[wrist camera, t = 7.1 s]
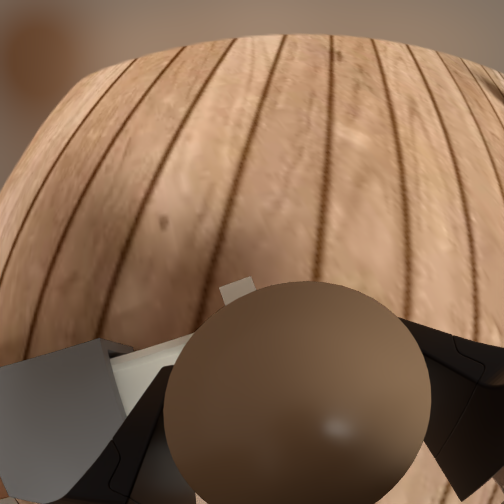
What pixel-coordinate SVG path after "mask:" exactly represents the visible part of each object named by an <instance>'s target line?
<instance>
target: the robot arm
mask: <svg viewBox="0 0 504 504" xmlns="http://www.w3.org/2000/svg"><path fill="white" fill-rule="evenodd" d="M398 318H399V317H398ZM399 319H400V320H401V322H402V323H403V324H404V325H405V326H406V327H407V328H408V330H409V331H410V333H411V334H412V336H413V337H414V339H415V340H416V342H417V344H418V346H419V348H420V350H421V352H422V354H423V357H424V360H425V363H426V366H427V369H428V373H429V379H430V385H431V409H430V418H429V423H428V427H427V431H426V434H425V437H424V440H423V441H424V442H425V444H426V445H427V447H428V448H429V450H430V452H431V453H432V455H433V456H434V458H436V459H435V460H436V461H437V463H438V465H439V466H440V468H441V469H442V471H443V473H444V474H445V476H446V478H447V479H448V481H449V482H450V484H451V486H452V487H453V489H454V491H455V492H456V494H457V496H458V498H459V499H460V500H461V502H462V501H464V500H465V499H466V498H468V497H469V496H470V495H472V494H473V493H474V492H475V491H477V490H478V489H479V488H480V487H481V486H483V485H484V484H485V483H486V482H487V481H489V480H490V479H491V478H493V479H494V480H495V482H496V483H497V485H498V486H499V487H500V489H501V490H502V492H503V493H504V348H502V347H497V346H492V345H487V344H483V343H479V342H475V341H471V340H468V339H464V338H461V337H458V336H455V335H453V336H452V335H451V334H448V333H445V332H442V331H439V330H436V329H433V328H430V327H427V326H424V325H421V324H417V323H414V322H411V321H408V320H405V319H402V318H399ZM173 367H174V365H168V366H164V367H162V368H161V369H160V371H159V372H158V373H157V375H156V376H155V378H154V379H153V381H152V382H151V383H150V385H149V386H148V388H147V389H146V390H145V392H144V393H143V395H142V396H141V398H140V399H139V400H138V402H137V403H136V405H135V406H134V408H133V409H132V410H131V412H130V413H129V415H128V416H127V417H126V419H125V420H124V422H123V423H122V425H121V426H120V427H119V429H118V430H117V432H116V433H115V435H114V436H113V437H112V440H110V442H109V443H108V445H107V446H106V447H105V449H104V450H103V451H102V453H101V454H100V455H99V457H98V458H97V459H96V461H95V462H94V463H93V464H92V465H91V467H90V468H89V469H88V470H87V471H86V472H85V474H84V475H83V476H82V477H81V478H80V479H79V480H78V482H77V483H76V484H75V485H74V486H73V487H72V488H71V489H70V491H69V492H68V493H67V494H66V495H64V496H63V497H62V498H60V499H58V500H56V501H53V502H49V503H45V504H196V496H195V491H194V490H193V489H192V488H191V487H190V486H189V484H188V483H187V482H186V480H185V479H184V478H183V476H182V475H181V473H180V472H179V470H178V468H177V466H176V464H175V462H174V460H173V458H172V455H171V453H170V450H169V447H168V444H167V439H166V434H165V429H164V413H163V409H164V399H165V392H166V388H167V384H168V380H169V376H170V374H171V372H172V369H173ZM501 504H504V501H503V502H502V503H501Z"/></svg>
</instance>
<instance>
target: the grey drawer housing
mask: <svg viewBox="0 0 504 504" xmlns="http://www.w3.org/2000/svg"><path fill="white" fill-rule="evenodd" d="M132 352H134V350H133V347H131V346H127V345H123V344H119V343H116V342H112V341H109V340H105V339H102V338H98V339H95V340H91V341H88V342H85V343H82V344H78V345H75V346H72V347H69V348H65V349H62V350H59V351H55V352H52V353H49V354H45V355H42V356H38V357H35V358H31V359H28V360H24V361H21V362H17V363H14V364H10V365H6V366H3V367H0V477H1V479H2V482H3V484H4V486H5V489H6V491H7V493H8V495H9V497H13V498H17V499H22V500H26V501H31V502H36V503H42V504H45V503H49V502H53V501H56V500H58V499H60V498H62V497H63V496H64V495H66V494H67V493H68V492H69V491H70V489H71V488H72V487H73V486H74V485H75V484H76V483H77V482H78V480H79V479H80V478H81V477H82V476H83V475H84V474H85V472H86V471H87V470H88V469H89V468H90V467H91V465H92V464H93V463H94V462H95V461H96V459H97V458H98V457H99V455H100V454H101V453H102V451H103V450H104V449H105V447H106V446H107V445H108V443H109V442H110V440H112V437H113V436H114V435H115V433H116V432H117V430H118V429H119V427H120V426H121V425H122V423H123V422H124V420H125V419H126V417H127V415H126V412H125V409H124V406H123V403H122V400H121V397H120V394H119V391H118V387H117V384H116V381H115V377H114V374H113V370H112V366H111V363H110V359H111V358H115V357H118V356H122V355H125V354H128V353H132Z"/></svg>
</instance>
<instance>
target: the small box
mask: <svg viewBox="0 0 504 504" xmlns="http://www.w3.org/2000/svg"><path fill="white" fill-rule="evenodd" d="M0 504H18V503H17V501H16V500H15V499H14V498H13V497H6V498H2V499H0Z"/></svg>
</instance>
